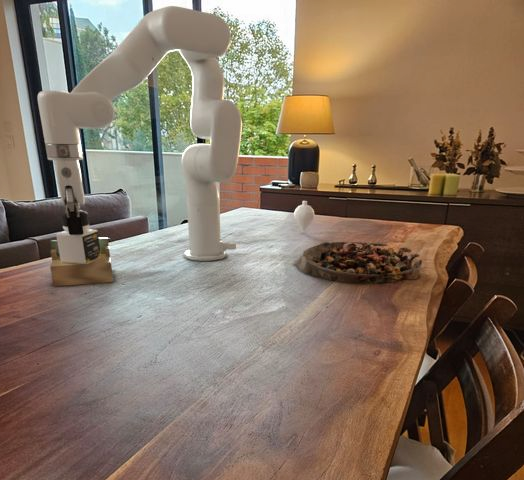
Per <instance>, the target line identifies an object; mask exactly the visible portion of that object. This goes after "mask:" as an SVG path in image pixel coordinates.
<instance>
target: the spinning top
mask: <svg viewBox="0 0 524 480" xmlns="http://www.w3.org/2000/svg"><path fill="white" fill-rule="evenodd" d="M293 216H294V219H295V222H296V223H297V226H298V227H299V228H300V229H301V231H302V234H305V231H306V230H307V229H308V228H309V226H311V223H312V222H313V220H314V217H315V210H314V209H313V207H312V206H311V205H309V204H308V201H307V200H302V204H300V205H298V206H297V207H296V208H295V210H294V212H293Z"/></svg>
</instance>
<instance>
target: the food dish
mask: <svg viewBox="0 0 524 480" xmlns="http://www.w3.org/2000/svg"><path fill="white" fill-rule="evenodd" d="M346 244H348V245H347V246H345V245H346ZM357 244H359V245H361V246H362V247H360V246H357ZM372 246H374V247H372ZM380 247H385V248H382V249H381V248H380ZM386 247H388V244H387V243H378V242H377V243H376V242H372V243H370V244H369V243H367V242H360V241H356V242H355V241H353V242H350V243H348V241H346V242H345V241H332V242H328V241H325V242H322V243H319V244H317V245H314V246H310V247H309V248H307V249H305V250H303V252H302V253H301V255H300V256H299V257H298V259H297V260H296V262H295V263H294V265H295V266H296V267H297V268H298V269H299V271H301V272H302V273H304V274H306V275H311V276H313V277H315V278H320V279H325V280H329V281H335V282H340V283H347V284H385V283H386V284H388V283H395V282H398V281H404V280H417V279H418V276H419V274H420V270H421V268H422V265H423V259H419V260H417V261H415V262H414V263H413V265H412V262H413V261H414V259H416V258H420V253H415V254H410V258H409V255H406V254H405V255H404V253H407V254H409V253H412V249H410V248H407V247H400V248H399V249H398V251H397V252H396V251H395V249H394V248H393V247H388V248H386Z"/></svg>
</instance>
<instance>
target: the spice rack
mask: <svg viewBox="0 0 524 480" xmlns="http://www.w3.org/2000/svg"><path fill="white" fill-rule="evenodd" d="M49 243H50V247H51V250H50V257H51V262H50V266H49V270H50V274H51V279H52V284H53V287H63V286H64V287H65V286H75V285H90V284H102V283H103V284H105V283H113V282H114V275H113V268H112V259H111V252H110V245H109V238H108V237H99V244H100V251H101V258H99V259H97V260H95V261H93V262H91V263H88V264H75V263H62V262H61V259H60V253H59V248H58V242H57V239H51V240H50V242H49Z"/></svg>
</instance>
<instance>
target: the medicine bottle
mask: <svg viewBox="0 0 524 480" xmlns="http://www.w3.org/2000/svg"><path fill="white" fill-rule="evenodd" d="M76 212H77V211H76ZM79 214H80V217H81V220H82V226H83V234H82V235H70V234H69V231H68V225H67V219H66V217H67V213H66V210H65V211H63V212H62V213H61V214H60V217H61V224H62V229H63V231H61V232H57V233H56V234H55V236H56V240H57V242H58V248H59V253H60V259H61V262H62V263H75V264H88V263H91V262H93V261H95V260H97V259H99V258H101V251H100V244H99V238H100V236H99V232H98V229H91V228H90V222H89V214H88V212H87V211H84V210H83V209H81V210H79Z"/></svg>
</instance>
